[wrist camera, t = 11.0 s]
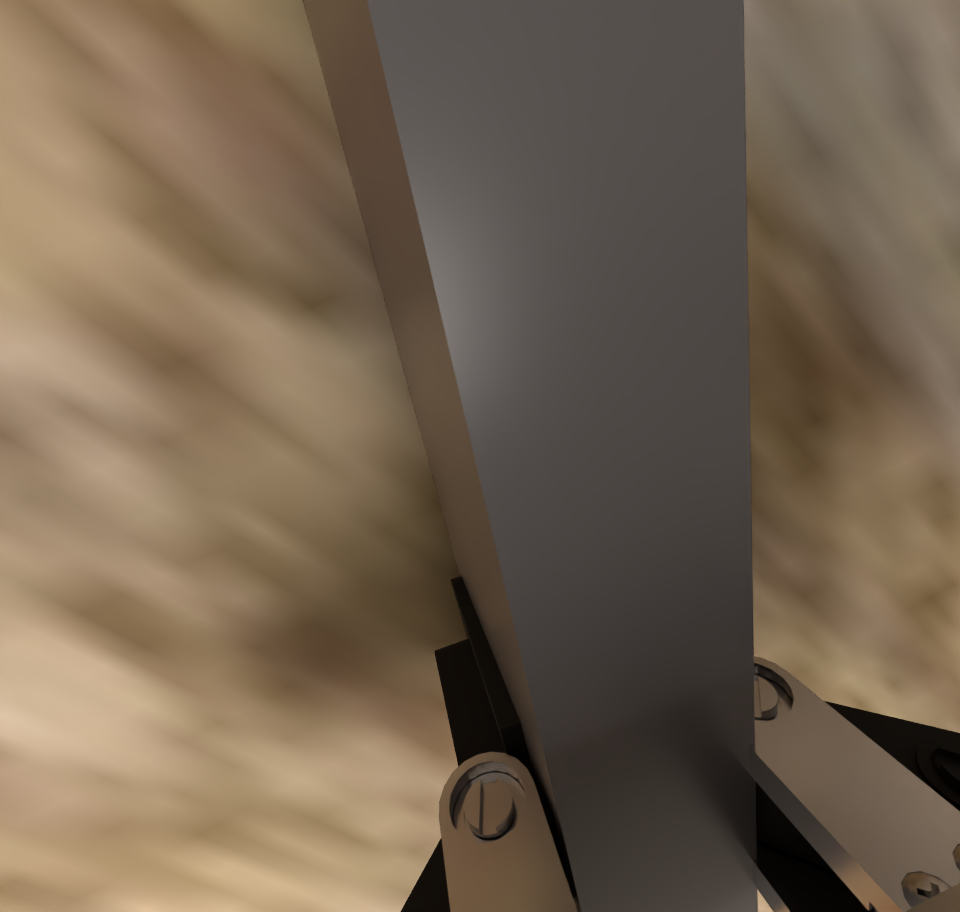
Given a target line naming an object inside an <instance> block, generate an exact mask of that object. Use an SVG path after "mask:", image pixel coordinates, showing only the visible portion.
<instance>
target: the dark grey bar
mask: <svg viewBox="0 0 960 912" xmlns="http://www.w3.org/2000/svg"><path fill="white" fill-rule="evenodd" d="M303 2H304V6H305V9H306V13H307V17H308V20H309V24H310V28H311V31H312V35H313V39H314V42H315V46H316V50H317V54H318V57H319V61H320V65H321V68H322V72H323V76H324V79H325V83H326V87H327V90H328V94H329V98H330V101H331V105H332V109H333V112H334V116H335V120H336V123H337V127H338V131H339V134H340V138H341V142H342V145H343V149H344V153H345V156H346V160H347V164H348V167H349V171H350V175H351V178H352V182H353V186H354V189H355V193H356V197H357V200H358V204H359V208H360V211H361V215H362V219H363V222H364V226H365V230H366V233H367V237H368V241H369V244H370V248H371V252H372V255H373V259H374V263H375V266H376V270H377V274H378V277H379V281H380V285H381V288H382V292H383V296H384V299H385V303H386V307H387V310H388V314H389V318H390V321H391V325H392V329H393V332H394V336H395V340H396V343H397V347H398V351H399V354H400V358H401V362H402V365H403V369H404V373H405V376H406V380H407V384H408V387H409V391H410V395H411V398H412V402H413V406H414V409H415V413H416V417H417V420H418V424H419V428H420V431H421V435H422V439H423V442H424V446H425V450H426V453H427V457H428V461H429V464H430V468H431V472H432V476H433V479H434V483H435V487H436V490H437V494H438V498H439V501H440V505H441V509H442V512H443V516H444V520H445V523H446V527H447V531H448V534H449V538H450V542H451V545H452V549H453V553H454V556H455V560H456V564H457V567H458V571H459V575H460V576H462V578H463V581H464V583H465V586H466V588H467V591H468V593H469V596H470V598H471V601H472V603H473V606H474V608H475V610H476V613H477V615H478V618H479V620H480V623H481V625H482V628H483V630H484V633H485V635H486V638H487V640H488V643H489V645H490V647H491V650H492V652H493V655H494V657H495V660H496V662H497V665H498V667H499V670H500V672H501V675H502V677H503V680H504V682H505V685H506V687H507V689H508V692H509V694H510V697H511V699H512V702H513V704H514V707H515V709H516V712H517V714H518V717H519V719H520V722H521V725H522V729H523V733H524V737H525V741H526V745H527V749H528V753H529V757H530V761H531V765H532V767H533V770H534V772H535V775H536V777H537V780H538V783H539V785H540V788H541V790H542V793H543V795H544V798H545V800H546V803H547V806H548V808H549V811H550V813H551V816H552V818H553V822H554V826H555V830H556V834H557V839H558V843H559V847H560V851H561V855H562V859H563V863H564V867H565V871H566V875H567V879H568V883H569V888H570V892H571V895H572V898H573V901H574V904H575V907H576V910H577V912H758V903H757V887H756V886H755V885H754V883H753V860H755V859H757V839H756V781H755V780H754V779H753V778H752V776H751V775H750V767H749V745H751V744H754V743H755V711H754V647H753V583H752V518H751V454H750V390H749V326H748V262H747V198H746V133H745V69H744V5H743V0H303Z"/></svg>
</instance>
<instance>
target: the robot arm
mask: <svg viewBox="0 0 960 912" xmlns="http://www.w3.org/2000/svg"><path fill="white" fill-rule="evenodd" d="M451 583H452V586H453V590H454V593H455V596H456V600H457V603H458V607H459V610H460V614H461V617H462V620H463V624H464V627H465V631H466V634H467V637H468V639H466V640H463V641H461V642H458V643H455V644H452V645H450V646H447V647H444V648H441V649H438V650H436V651H435V657H436V662H437V666H438V671H439V676H440V681H441V685H442V690H443V695H444V700H445V704H446V709H447V714H448V719H449V724H450V728H451V733H452V738H453V743H454V747H455V752H456V757H457V762H458V766H459V767H458V768H457V769H456V770H455V771H454V772H453V773H452V774H451V776H450V778H449V779H448V781H447V782H446V784H445V786H444V788H443V792H442V795H441V798H440V801H439V822H440V830H441V839H440V841H439V843H438V845H437V847H436V848H435V850H434V852H433V854H432V856H431V857H430V859H429V861H428V863H427V865H426V867H425V868H424V870H423V872H422V874H421V876H420V877H419V879H418V881H417V883H416V885H415V887H414V888H413V890H412V892H411V894H410V896H409V897H408V899H407V901H406V903H405V905H404V906H403V908H402V910H401V912H577V910H576V907H575V904H574V901H573V898H572V895H571V892H570V888H569V883H568V879H567V875H566V871H565V867H564V863H563V859H562V855H561V851H560V847H559V843H558V839H557V834H556V830H555V826H554V822H553V818H552V816H551V813H550V811H549V808H548V806H547V803H546V800H545V798H544V795H543V793H542V790H541V788H540V785H539V783H538V780H537V777H536V775H535V772H534V770H533V767H532V765H531V761H530V757H529V753H528V749H527V745H526V741H525V737H524V733H523V729H522V725H521V722H520V719H519V717H518V714H517V712H516V709H515V707H514V704H513V702H512V699H511V697H510V694H509V692H508V689H507V687H506V685H505V682H504V680H503V677H502V675H501V672H500V670H499V667H498V665H497V662H496V660H495V657H494V655H493V652H492V650H491V647H490V645H489V643H488V640H487V638H486V635H485V633H484V630H483V628H482V625H481V623H480V620H479V618H478V615H477V613H476V610H475V608H474V606H473V603H472V601H471V598H470V596H469V593H468V591H467V588H466V586H465V583H464V581H463V578H462V576H460V577H457V578H454V579H451ZM754 711H755V743H754V744H751V745H749V767H750V775H751V776H752V778H753V779H754V780H755V781H756V839H757V859H755V860H753V883H754V885H755V886H756V887H757V889H758V890H759V892H760V893H761V894H762V896H763V897H764V899H765V900H766V902H767V903H768V904H769V906H770V907H771V909H772V910H773V911H774V912H960V733H957V732H953V731H949V730H944V729H940V728H936V727H932V726H927V725H923V724H919V723H915V722H911V721H906V720H902V719H898V718H894V717H889V716H885V715H881V714H877V713H873V712H868V711H864V710H860V709H856V708H851V707H847V706H843V705H839V704H834V703H830V702H826V701H823V700H822V699H821V698H820V697H818V696H817V695H816V694H815V693H813V692H812V691H811V690H810V689H808V688H807V687H806V686H805V685H804V684H802V683H801V682H800V681H799V680H797V679H796V678H795V677H794V676H792V675H791V674H790V673H789V672H787V671H786V670H784V669H783V668H781V667H780V666H778V665H777V664H775V663H773V662H770V661H768V660H765V659H763V658H760V657H755V656H754Z"/></svg>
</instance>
